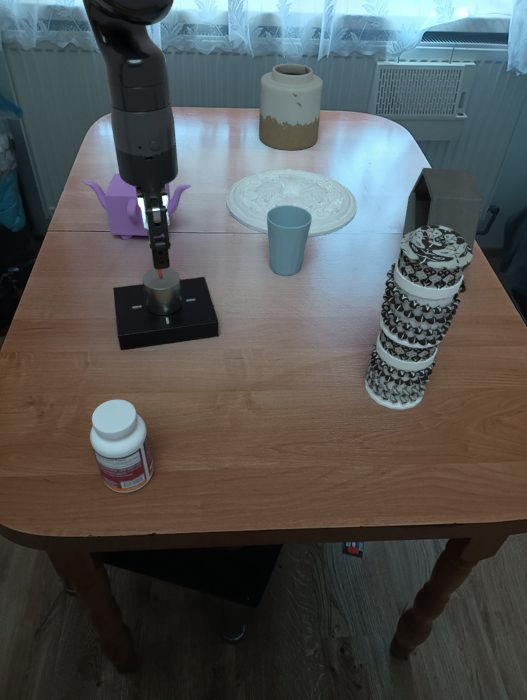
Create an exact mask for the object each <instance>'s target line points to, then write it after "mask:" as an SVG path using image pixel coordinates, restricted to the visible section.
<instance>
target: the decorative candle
mask: <svg viewBox="0 0 527 700" xmlns="http://www.w3.org/2000/svg"><path fill="white" fill-rule="evenodd" d="M402 237H403V236H402ZM399 243H400V250H399V255H398V259H397V260H396V262H394V263H392V264H391V266H390V269H389V270H388V271H387V273H386V276H387V278H388V279H386V281H385V284H384V285H385V288H384V294H383V296H382V299H383V301H384V302H382V303H381V306H380V307H381V311H380V317H379V325H380V331H379V334H378V335H377V338H376V342H375V343H373V345H372V349H373V350H372V351H371V353H370V356H371V358H370V359H369V362H368V363H367V367H368V368H367V369H366V377H365V379H364V386H365V388H364V389H365V391H366V393H367V394H368V396H369V397H370V398H371V399H372V400H373V401H374V402H375V403H377V404H378V405H380V406H382V407H385V408H388V409H391V410H399V411H404V410H408V409H413V408H415V407H416V406H417V405H418V404H420V403H421V402H422V399H423V398H424V395H425V392H426V391H427V386H426V384H429V383H430V376H431V375H432V374H433V368H434V367H435V366H436V363H437V362H436V358H437V356H436V355H437V353H438V350H439V349H438V345H439V344H440V343H441V342H443V341H444V340H445V336H446V335H447V332H448V331H449V327H450V326H451V325H452V320H453V319H454V317H455V316H456V314H457V310H458V309H459V304H460V303H461V302H462V301H461V298H460V297H459V295H460V294H461V293H465V292H466V290H467V286H466V283H465V280H464V272H465V270H466V269H465V266H466V264H468V263H469V262H470V263H471V261H472V259H473V256H474V253H473V251H472V250H471V247H470V246H469V245H468V244H466V243H465V240H464V238H463V237H462V236H461V235H460V234H459V233H458V232H456V231H454V230H452V229H450V228H447V227H444V226H438V225H428V226H422V227H420V228H418V229H416V230H415V231H412V232H410V233H408V234H406V235H404V237H403V238H401V240H400V241H399ZM464 269H465V270H464Z"/></svg>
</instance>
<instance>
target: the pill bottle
mask: <svg viewBox="0 0 527 700" xmlns="http://www.w3.org/2000/svg"><path fill="white" fill-rule="evenodd" d="M91 422H92V427H91V429H90V432H89V433H90V434H89V439H90V445H91V448H92V450H93V454H94V457H95V460H96V464H97V467H98V468H99V473H100V476H101V479H102V481H103V483H104V484H105V486H106V487H107V488H109V490H111V491H113V492H116V493H120V494H127V493H132V492H136V491H138V490H140V489H142V488H143V487H145V485H147V484H148V483H149V481H150V480H151V478H152V476H153V474H154V468H155V467H154V460H153V454H152V450H151V445H150V440H149V435H148V430H147V425H146V423H145V421H144V419H143V418H142V417H141V416H140V415H139V414H138V413H137V410H136V408H135V406H134V405H133V404H132V403H131V402H130V401H128V400H125V399H118V398H117V399H110V400H107V401H104V402H103V403H101V404H99V405H98V406H97V407H96V408H95V409H94V411H93V412H92V416H91Z"/></svg>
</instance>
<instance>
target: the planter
mask: <svg viewBox="0 0 527 700" xmlns="http://www.w3.org/2000/svg"><path fill="white" fill-rule="evenodd" d="M482 204H483V197H482V195H481V193H480V192H479V189H478V186H477V185H476V183H475V181H474V177H472V174H471V172H470V171H469V170H464V169H449V168H435V167H422V169H421V172H420V173H419V175H418V176H417V179H416V181H415V183H414V185H413V187H412V189H411V191H410V193H409V195H408V197H407V204H406V211H405V218H404V225H403V231H402V238H403V237H404V235H406V234H408V233H410V232H412V231H415V230H416V229H418V228H420V227H422V226H428V225H438V226H444V227H447V228H450V229H452V230H454V231H456V232H458V233H459V234H460V235H461V236H462V237H463V238H464V240H465V243H466V244H468V245H469V246H470V247H471V250H472V252H473V251H474V245H475V239H476V234H477V229H478V225H479V219H480V214H481V209H482ZM402 238H401V239H402ZM470 265H471V261H470V262H469V263H468V264H466V266H465V269H464V271H465V270H466V269H467V268H468V267H469V266H470Z"/></svg>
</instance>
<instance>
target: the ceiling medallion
mask: <svg viewBox="0 0 527 700" xmlns="http://www.w3.org/2000/svg"><path fill="white" fill-rule="evenodd" d="M225 203H226V208H227V210H228V212H229V214H230V215H231V216H232V217H233V218H234V219H235V220H236V221H238V222H239V223H240V224H242V225H243V226H246V227H247V228H250V229H252V230H254V231H257V232H260V233H262V234H266V235H268V227H267V213H268V211H269V210H271V209H272V208H274V207H278V206H283V205H291V206H297V207H301V208H303V209H305V210H307V211H308V212H309V213H310V214H311V216H312V221H311V225H310V229H309V233H308V237H307V238H313V237H318V236H319V237H320V236H325V235H328V234H332V233H335V232H337V231H339V230H341V229H342V228H344V227H346V226H347V225H348V224H350V223H351V222H352V221H353V219H354V218H355V216H356V213H357V209H358V202H357V199H356V197H355V195H354V194H353V192H352V191H351V190H350V189H348V188H347V187H346V186H345V185H343V184H342V183H340V182H339V181H337V180H336V179H333V178H331V177H328V176H327V175H324V174H320V173H317V172H312V171H309V170H301V169H293V168H292V169H290V168H287V169H286V168H284V169H283V168H281V169H279V168H278V169H270V170H264V171H259V172H256V173H251V174H249V175H247V176H244V177H242V178H241V179H239V180H238V181H236V182H234V183H233V184H232V185H231V186H230V187H229V189H228V190H227V193H226V196H225Z"/></svg>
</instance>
